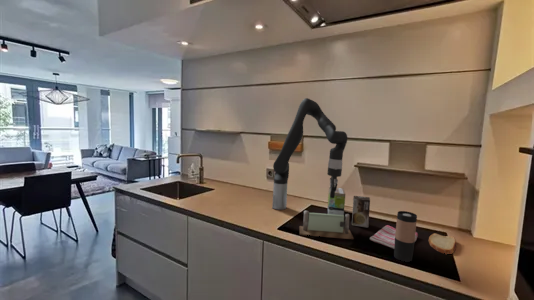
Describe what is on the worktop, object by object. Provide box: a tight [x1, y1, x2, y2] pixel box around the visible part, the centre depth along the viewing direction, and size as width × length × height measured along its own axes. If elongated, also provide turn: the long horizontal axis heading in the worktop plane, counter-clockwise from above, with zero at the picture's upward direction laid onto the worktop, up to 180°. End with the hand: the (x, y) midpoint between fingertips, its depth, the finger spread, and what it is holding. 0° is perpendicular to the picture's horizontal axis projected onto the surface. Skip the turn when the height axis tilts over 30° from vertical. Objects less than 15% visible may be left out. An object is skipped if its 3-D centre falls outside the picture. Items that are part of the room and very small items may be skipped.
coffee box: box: [351, 195, 371, 228], centre depth 151 cm, size 9×6×16 cm
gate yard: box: [298, 210, 355, 240], centre depth 138 cm, size 27×10×11 cm, turn 84°
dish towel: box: [369, 224, 419, 250], centre depth 134 cm, size 17×23×4 cm
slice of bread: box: [428, 233, 458, 255], centre depth 129 cm, size 18×18×4 cm
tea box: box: [327, 186, 346, 216], centre depth 172 cm, size 15×10×15 cm
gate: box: [308, 212, 345, 233], centre depth 138 cm, size 18×2×9 cm, turn 84°
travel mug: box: [393, 210, 418, 263], centre depth 114 cm, size 8×8×20 cm
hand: (332, 197), depth 147 cm, fingers closed
